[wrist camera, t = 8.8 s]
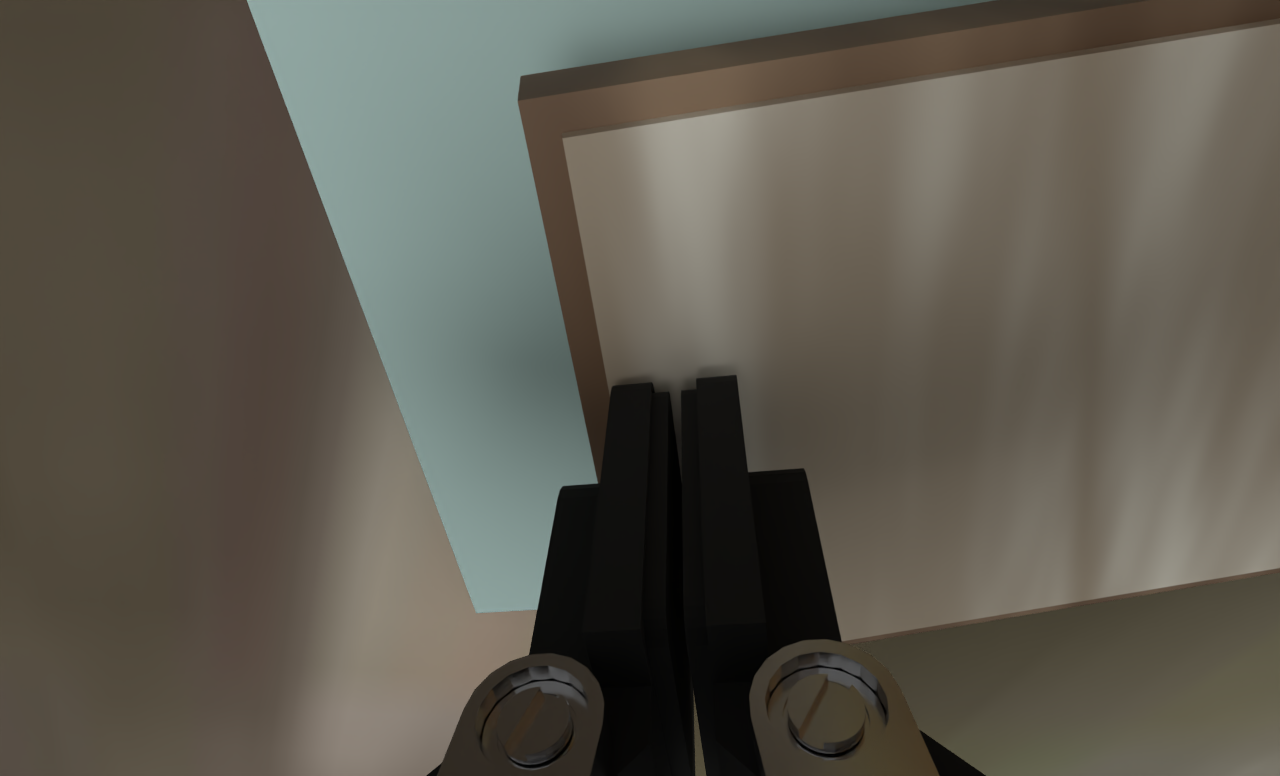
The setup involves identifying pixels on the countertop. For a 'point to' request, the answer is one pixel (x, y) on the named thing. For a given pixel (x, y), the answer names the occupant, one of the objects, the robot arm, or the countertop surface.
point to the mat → (477, 226)
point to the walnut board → (951, 286)
